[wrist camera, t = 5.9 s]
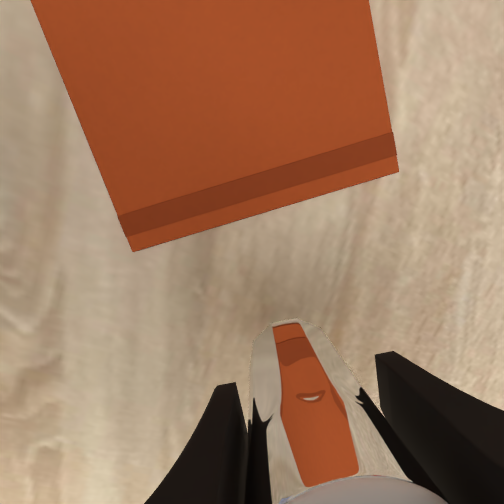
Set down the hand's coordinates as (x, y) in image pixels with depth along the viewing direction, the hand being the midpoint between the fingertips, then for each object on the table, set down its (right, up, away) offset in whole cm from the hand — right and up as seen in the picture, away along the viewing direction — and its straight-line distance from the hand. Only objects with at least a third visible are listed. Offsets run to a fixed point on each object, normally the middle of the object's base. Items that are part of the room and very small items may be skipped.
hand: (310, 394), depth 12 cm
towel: (-4, +17, +5) cm, 18 cm away
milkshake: (0, +1, +3) cm, 3 cm away
